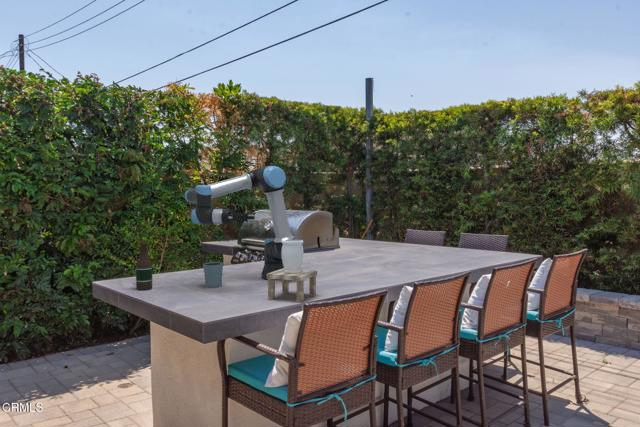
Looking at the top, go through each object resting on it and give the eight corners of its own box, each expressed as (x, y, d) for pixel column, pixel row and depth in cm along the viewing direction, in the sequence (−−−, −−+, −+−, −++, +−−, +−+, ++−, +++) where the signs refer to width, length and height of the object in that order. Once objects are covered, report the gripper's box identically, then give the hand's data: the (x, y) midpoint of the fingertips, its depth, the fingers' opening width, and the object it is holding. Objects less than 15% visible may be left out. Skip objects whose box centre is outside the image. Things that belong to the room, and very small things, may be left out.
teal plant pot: (226, 285, 259) (226, 262, 258) (215, 288, 250) (215, 265, 249) (211, 283, 263) (211, 261, 262) (199, 287, 254) (199, 264, 253)
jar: (281, 270, 234) (281, 239, 234) (302, 270, 235) (302, 239, 235) (281, 274, 224) (281, 241, 223) (304, 273, 225) (304, 241, 224)
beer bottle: (155, 288, 251) (155, 241, 250) (145, 291, 243) (144, 243, 242) (143, 287, 253) (142, 241, 252) (132, 290, 246) (132, 242, 245)
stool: (266, 299, 225) (266, 273, 224) (283, 292, 242) (283, 268, 241) (302, 303, 218) (302, 276, 218) (317, 295, 235) (317, 270, 234)
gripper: (230, 222, 253) (270, 222, 251) (214, 226, 228) (258, 226, 226) (230, 208, 253) (270, 208, 250) (214, 210, 228) (258, 210, 225)
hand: (265, 216), depth 238 cm, fingers open, 13 cm apart
